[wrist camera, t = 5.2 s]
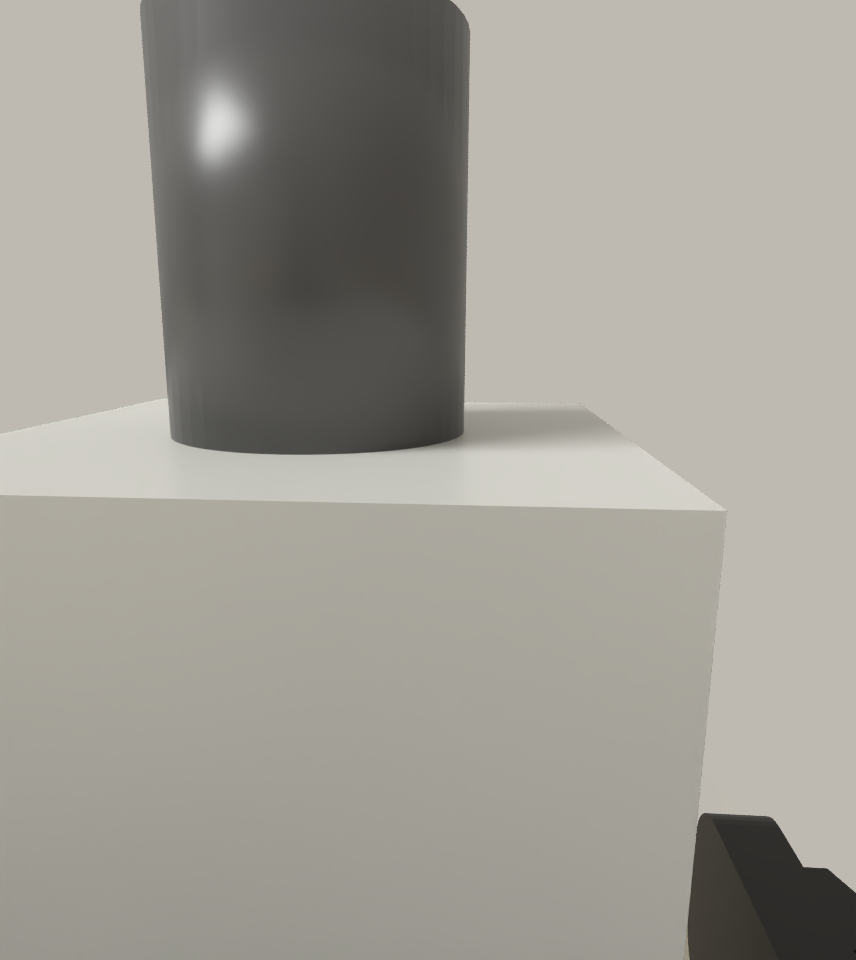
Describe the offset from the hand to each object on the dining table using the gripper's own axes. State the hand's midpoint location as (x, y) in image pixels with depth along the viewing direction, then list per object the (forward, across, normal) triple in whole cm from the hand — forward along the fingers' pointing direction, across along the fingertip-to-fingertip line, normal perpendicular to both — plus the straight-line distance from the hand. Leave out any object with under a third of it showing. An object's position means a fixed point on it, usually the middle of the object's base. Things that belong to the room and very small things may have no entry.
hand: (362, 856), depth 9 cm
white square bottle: (-2, 0, +8) cm, 9 cm away
